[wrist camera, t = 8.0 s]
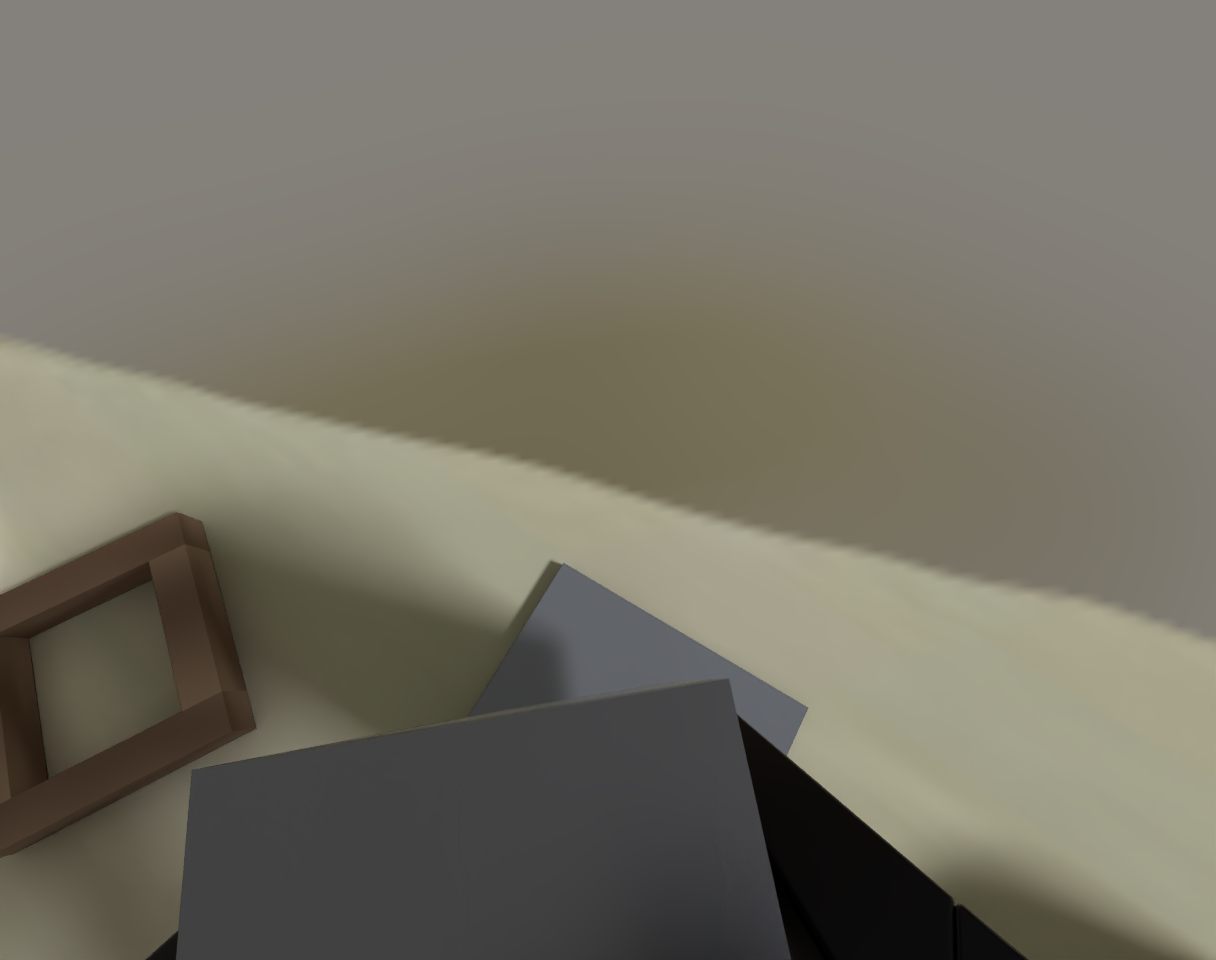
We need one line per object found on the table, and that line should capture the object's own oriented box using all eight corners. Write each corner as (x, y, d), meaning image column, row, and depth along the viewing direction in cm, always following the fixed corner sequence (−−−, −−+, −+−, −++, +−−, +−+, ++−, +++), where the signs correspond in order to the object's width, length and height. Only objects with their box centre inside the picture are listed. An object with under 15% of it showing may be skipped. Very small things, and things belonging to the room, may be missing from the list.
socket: (256, 728, 19) (231, 731, 18) (13, 853, 18) (-29, 865, 17) (201, 521, 21) (177, 512, 20) (-13, 622, 20) (-51, 618, 19)
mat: (666, 1008, 16) (667, 1018, 15) (411, 814, 18) (405, 817, 17) (803, 707, 18) (808, 707, 18) (565, 565, 20) (563, 563, 20)
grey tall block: (697, 857, 14) (915, 1520, 3) (532, 885, 14) (117, 1661, 3) (664, 682, 15) (728, 679, 4) (515, 708, 15) (191, 770, 4)
